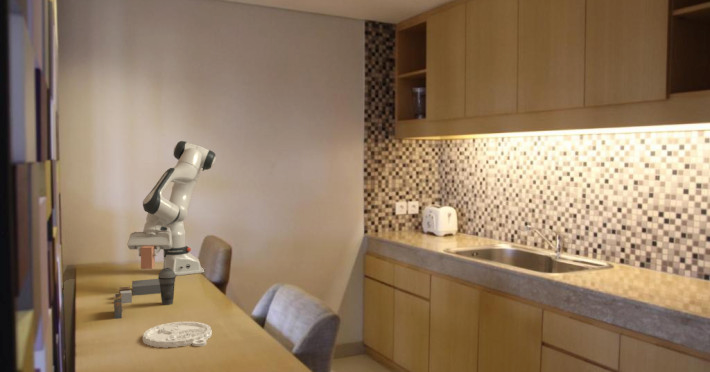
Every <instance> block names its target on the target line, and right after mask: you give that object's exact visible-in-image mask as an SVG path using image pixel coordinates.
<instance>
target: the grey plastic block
mask: <svg viewBox="0 0 710 372" xmlns="http://www.w3.org/2000/svg"><path fill="white" fill-rule="evenodd" d="M120 293H122V304H130V303H131V304H132V303H133V300H132V299H133V290H131V289H130V290H129V291H120Z"/></svg>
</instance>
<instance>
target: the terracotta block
mask: <svg viewBox="0 0 710 372" xmlns="http://www.w3.org/2000/svg"><path fill="white" fill-rule="evenodd" d="M153 251H156V249H155V246H143V247H141V256H140V270H141V269H142V270H146V269H147V270H152V269H154V268H155V267H156V263H155V262H156V261H155V260H156V256H153Z"/></svg>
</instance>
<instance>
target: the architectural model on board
mask: <svg viewBox="0 0 710 372" xmlns="http://www.w3.org/2000/svg"><path fill="white" fill-rule="evenodd" d="M113 309H114V310H113V311H114V315H113V316H114V320H117V319H122V317H123V315H122V314H123V303H122V293H120V294H119V293H114V299H113Z"/></svg>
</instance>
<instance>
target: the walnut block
mask: <svg viewBox="0 0 710 372" xmlns="http://www.w3.org/2000/svg"><path fill="white" fill-rule="evenodd" d="M129 290H131V286H123V287H121V286H120V287H118V294H120V291H129Z"/></svg>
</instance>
